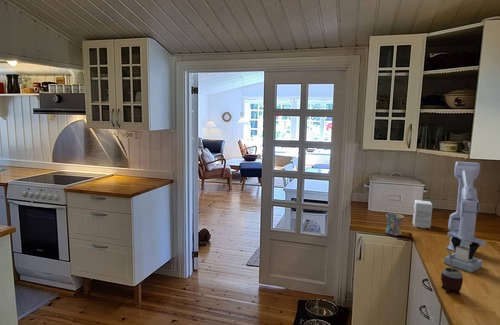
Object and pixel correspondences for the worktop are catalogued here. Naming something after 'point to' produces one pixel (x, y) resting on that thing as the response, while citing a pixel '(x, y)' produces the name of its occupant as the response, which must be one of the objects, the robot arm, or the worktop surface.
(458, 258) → the box
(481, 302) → the worktop surface
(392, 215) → the mug
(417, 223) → the supplement box
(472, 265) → the big crate
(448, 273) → the mate gourd
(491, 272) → the worktop surface
